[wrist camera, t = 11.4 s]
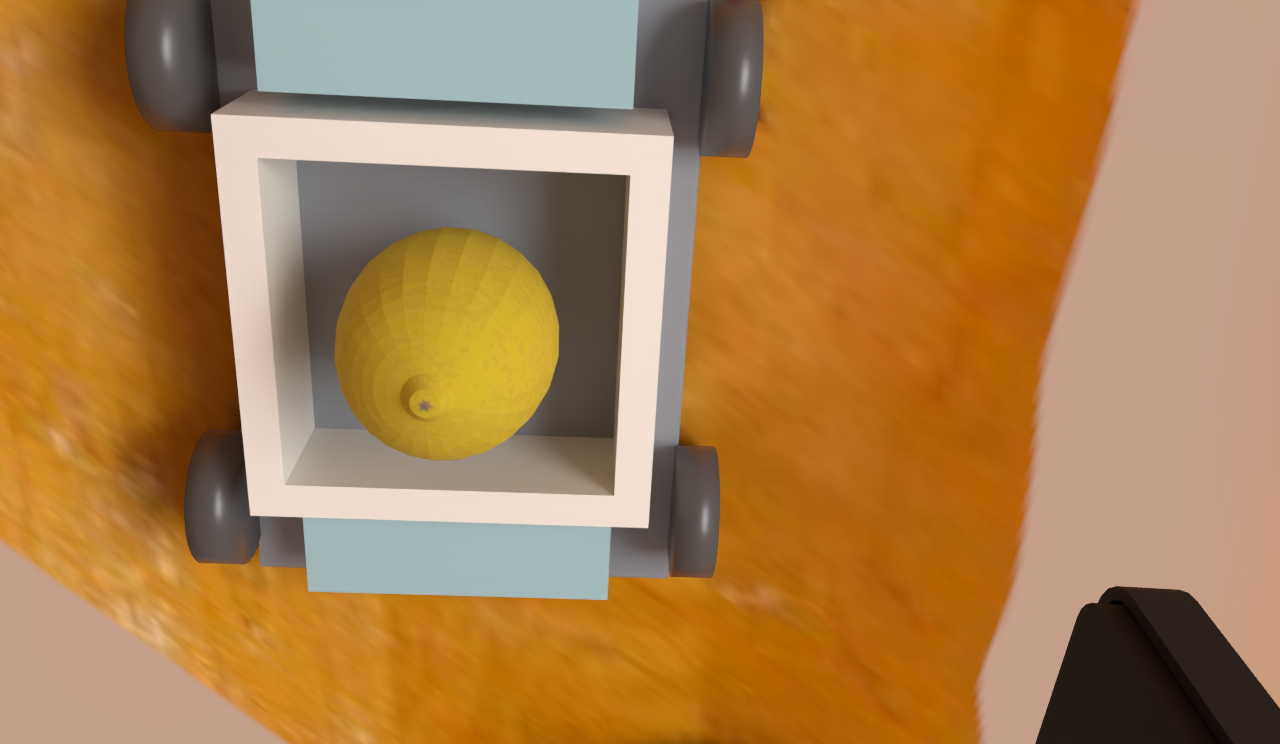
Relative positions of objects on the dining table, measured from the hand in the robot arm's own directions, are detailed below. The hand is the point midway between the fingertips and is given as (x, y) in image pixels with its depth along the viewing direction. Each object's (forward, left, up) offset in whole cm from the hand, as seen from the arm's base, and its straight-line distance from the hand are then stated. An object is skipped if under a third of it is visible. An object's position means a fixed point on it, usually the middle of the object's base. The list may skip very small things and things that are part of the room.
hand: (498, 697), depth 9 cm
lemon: (+5, -3, -24) cm, 24 cm away
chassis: (+5, -3, -25) cm, 25 cm away
